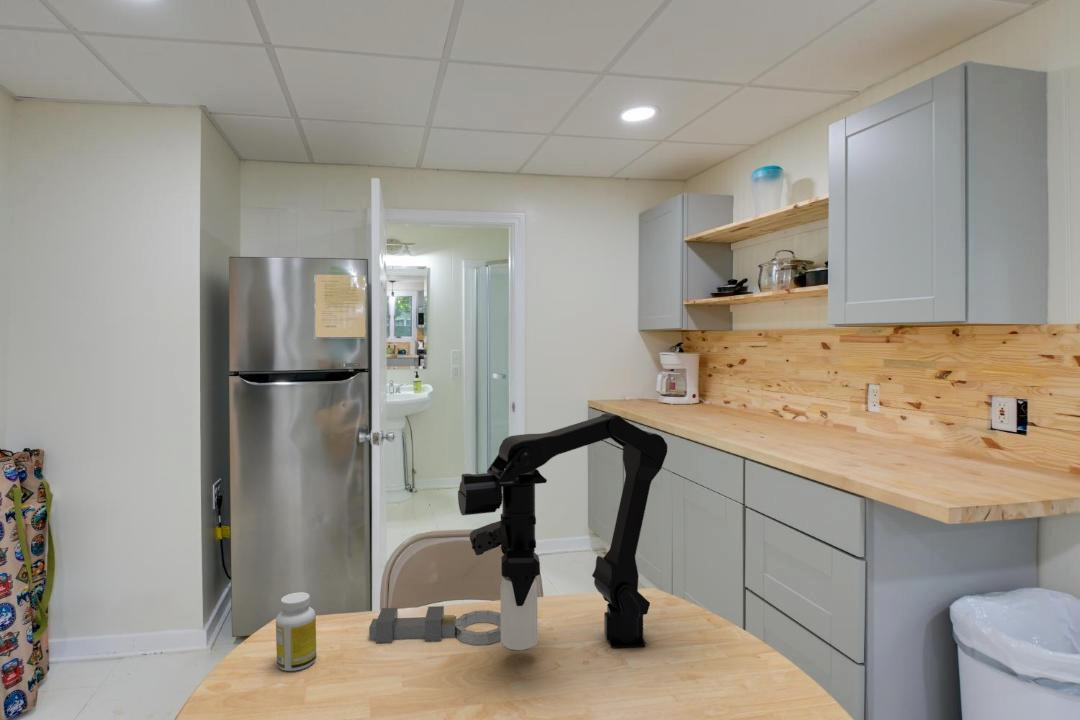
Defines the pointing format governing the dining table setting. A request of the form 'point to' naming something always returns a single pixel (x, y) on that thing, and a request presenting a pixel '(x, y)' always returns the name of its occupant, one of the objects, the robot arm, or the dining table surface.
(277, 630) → the pill bottle
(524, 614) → the can
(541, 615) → the dining table surface
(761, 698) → the dining table surface
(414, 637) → the shaft seat
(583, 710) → the dining table surface
